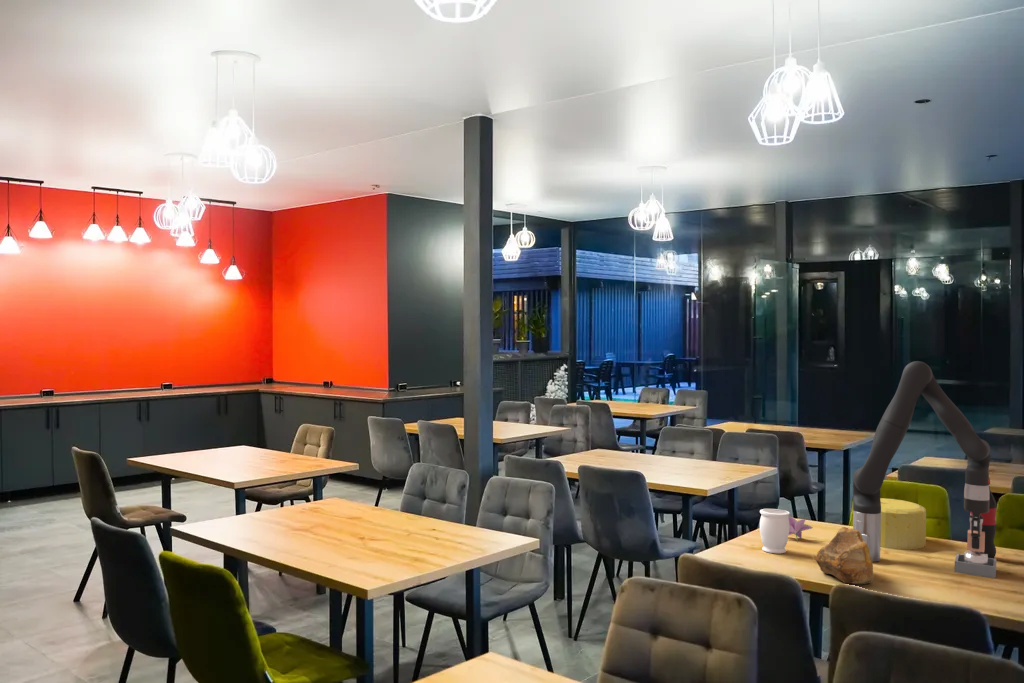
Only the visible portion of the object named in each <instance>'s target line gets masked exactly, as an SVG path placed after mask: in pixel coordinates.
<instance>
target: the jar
mask: <svg viewBox="0 0 1024 683" xmlns="http://www.w3.org/2000/svg"><path fill="white" fill-rule="evenodd" d="M759 513H760V514H761V516H760V519H759V533H760V540H761V543H762V545H763V546H762V548H761V550H762V551H763V552H766V553H769V554H779V555H780V554H785V553H786V552H787V550H786V546H787V544H788V539H789V536H790V535H789V520H788V516H790V512H789V511H787V510H785V509H780V508H779V509H777V508H763V509H762V508H761V509H760V510H759Z"/></svg>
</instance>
